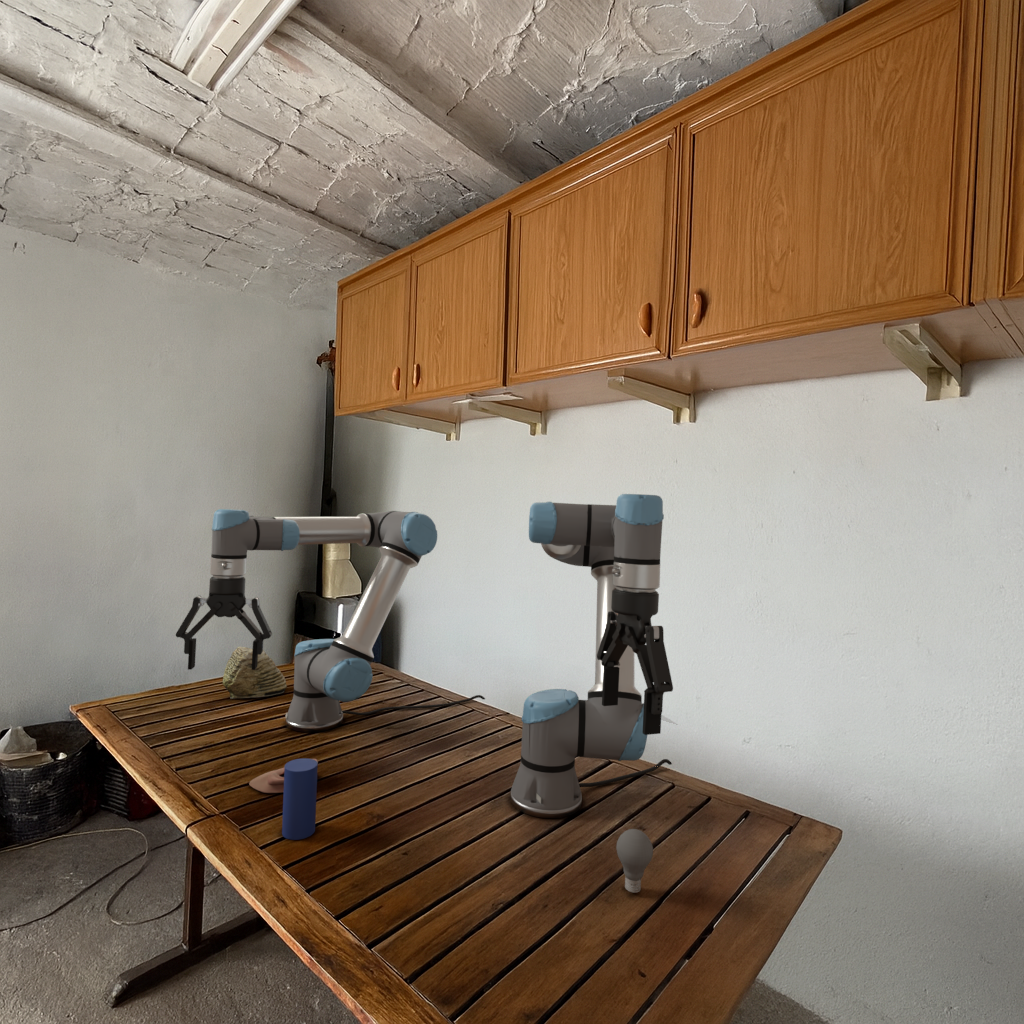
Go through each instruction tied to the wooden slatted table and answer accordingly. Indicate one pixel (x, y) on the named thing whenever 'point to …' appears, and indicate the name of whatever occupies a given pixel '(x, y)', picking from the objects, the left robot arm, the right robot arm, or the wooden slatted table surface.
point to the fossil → (252, 675)
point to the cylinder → (299, 798)
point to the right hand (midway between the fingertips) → (629, 718)
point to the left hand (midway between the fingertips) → (223, 668)
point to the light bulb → (634, 857)
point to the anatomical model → (270, 781)
